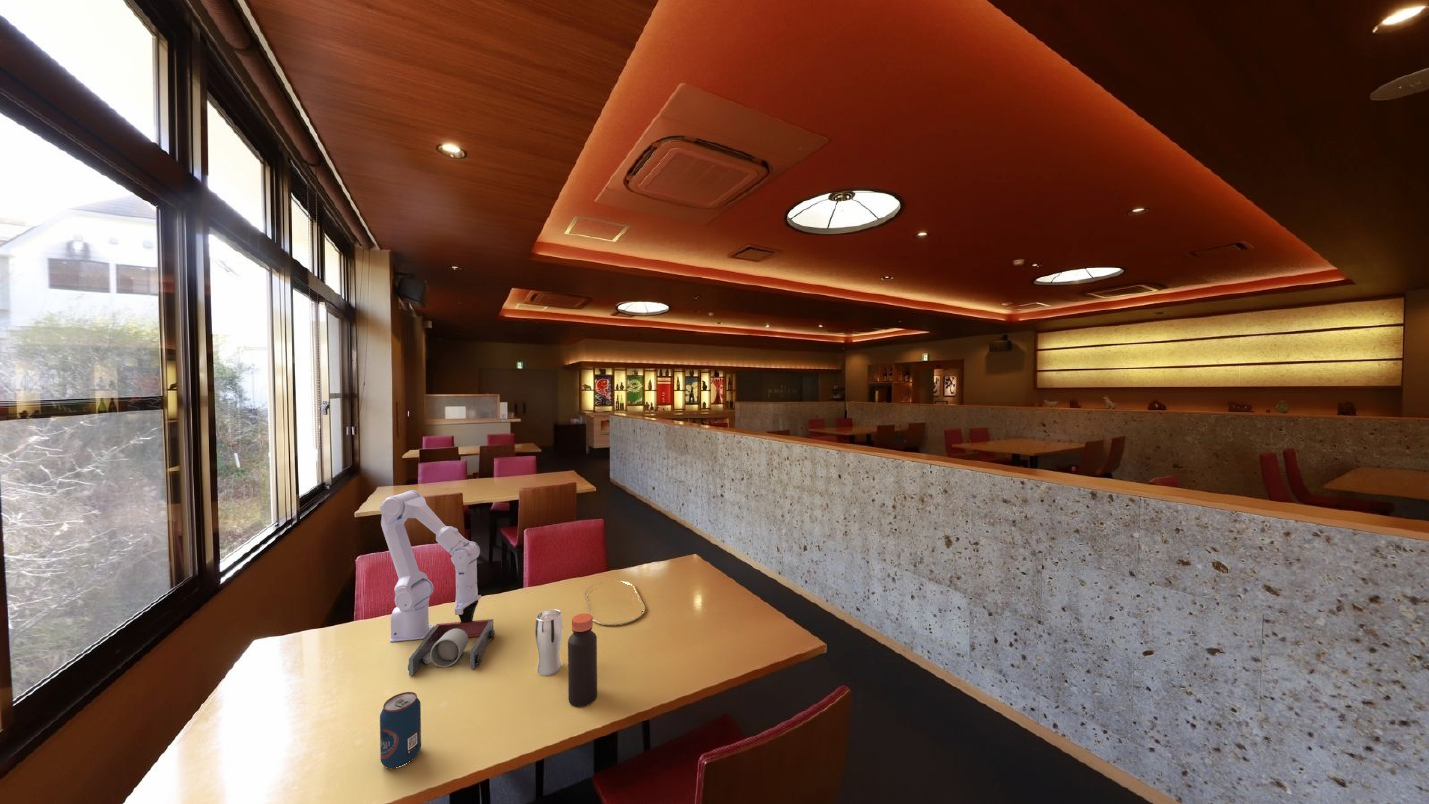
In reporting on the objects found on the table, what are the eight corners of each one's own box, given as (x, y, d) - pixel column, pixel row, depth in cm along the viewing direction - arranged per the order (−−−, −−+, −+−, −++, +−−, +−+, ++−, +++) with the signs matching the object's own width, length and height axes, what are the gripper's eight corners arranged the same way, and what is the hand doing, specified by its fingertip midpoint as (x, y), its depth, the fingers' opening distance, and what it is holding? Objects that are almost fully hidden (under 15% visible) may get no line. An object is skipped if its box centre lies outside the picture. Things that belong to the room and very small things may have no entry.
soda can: (372, 766, 93) (371, 707, 93) (406, 741, 99) (405, 686, 99) (396, 776, 90) (395, 716, 90) (429, 750, 97) (428, 694, 97)
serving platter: (592, 633, 145) (592, 628, 145) (581, 588, 177) (581, 584, 177) (650, 622, 152) (650, 617, 152) (630, 581, 184) (630, 577, 184)
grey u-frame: (405, 675, 122) (405, 659, 122) (434, 638, 140) (434, 624, 140) (477, 668, 125) (477, 651, 125) (496, 633, 143) (496, 618, 143)
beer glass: (557, 677, 122) (557, 621, 121) (531, 677, 122) (530, 621, 121) (566, 661, 129) (566, 608, 128) (541, 661, 129) (541, 608, 128)
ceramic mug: (470, 649, 135) (469, 623, 135) (460, 665, 127) (459, 638, 127) (430, 654, 133) (429, 627, 133) (417, 671, 125) (416, 643, 125)
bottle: (573, 689, 117) (573, 611, 116) (600, 689, 117) (599, 611, 116) (564, 707, 110) (563, 624, 110) (592, 708, 110) (591, 625, 109)
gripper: (472, 592, 136) (473, 637, 137) (487, 573, 150) (487, 614, 151) (446, 594, 135) (447, 640, 135) (463, 575, 149) (464, 616, 150)
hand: (467, 626), depth 143 cm, fingers closed
